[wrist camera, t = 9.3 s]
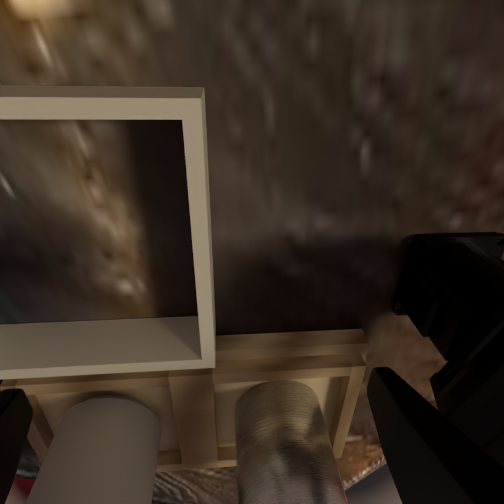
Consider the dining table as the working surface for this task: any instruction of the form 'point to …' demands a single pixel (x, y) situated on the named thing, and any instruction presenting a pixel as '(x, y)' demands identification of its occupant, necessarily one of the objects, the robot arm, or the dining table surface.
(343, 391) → the wooden divided tray
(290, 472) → the steel billet
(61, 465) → the can
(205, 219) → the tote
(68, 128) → the dining table surface
